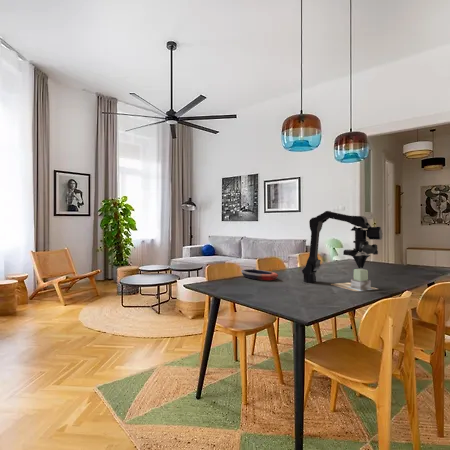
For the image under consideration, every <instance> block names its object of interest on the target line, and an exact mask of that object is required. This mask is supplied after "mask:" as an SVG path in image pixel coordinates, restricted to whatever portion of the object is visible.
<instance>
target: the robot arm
mask: <svg viewBox="0 0 450 450" xmlns="http://www.w3.org/2000/svg"><path fill="white" fill-rule="evenodd" d="M329 219H332V220H337V221H341V222H346V223H348V224H351V225H353V227H352V229H350V231H351V232H354V240H353V243H354V248H352V249H349V248H348V249H344V250H343V252H342V253H343V256H350V257H352V258H353V260H354V261H355V264H356V266H357V269H363V268H364V266H365V263H366V261H367V259H368V258H369V257H371V256H372V255H378V254H379V250H378V245H377V244H369V242H370V241H368V240H375V241H376V240H378V241H382V239H383V232H382V226H371V224H370V223H369V222H368V218H367V217H366V216H363V215H350V214H343V213H338V212H335V211H331V210H326V211H324V212H323V213H321V214H318V215H316V216H315V217H311V218H310V219H309V229H310V232H311V233H310V245H309V256H308V258H307V260H306V263H305V266H304V267H303V268H302V269H301V272H302V274H303V284H305V285H306V284H313V283H317V276H316V273H317V271H318V270H319V269H320V267H321V262H322V261H321V259H319V257H318V256H319V255H318V254H319V243H320V241H319V239H320V233H321V230H322V229H323V225H324V223H325V222H327V221H328V220H329ZM367 238H368V240H367ZM371 254H372V255H371Z"/></svg>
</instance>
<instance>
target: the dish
mask: <svg viewBox="0 0 450 450" xmlns="http://www.w3.org/2000/svg"><path fill="white" fill-rule="evenodd" d="M240 271H241V274H242V277H245V278H247V279H250V278H252V279H251V280H256V279H257V281H275V280H277V278H278V277H279V274H278V273H276V272H275V271H274V272H273V271H270V270H269V271H268V270H262V269H256V268H253V269H252V268H251V269H250V268H249V269H247V268H245V269H241V270H240Z"/></svg>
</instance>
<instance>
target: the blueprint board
mask: <svg viewBox="0 0 450 450" xmlns="http://www.w3.org/2000/svg"><path fill="white" fill-rule="evenodd" d="M330 285H331V286H335V287H337V288H341V289H346V290H349V291H353V292H358V294H359V293H362V292H366V291H368V293H369V292H372V291H376V290H378V288H377V287H373V286H372V280H370V279H368V280H367V281H358V280H354V278H350V282H338V283H330Z"/></svg>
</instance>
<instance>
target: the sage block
mask: <svg viewBox="0 0 450 450" xmlns="http://www.w3.org/2000/svg"><path fill="white" fill-rule="evenodd" d="M368 271H369V270H368V269H365V268H364V269H363V268H355V269H353V279H354V280H358V281H367V280H369V276H368V275H369V273H368Z"/></svg>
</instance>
